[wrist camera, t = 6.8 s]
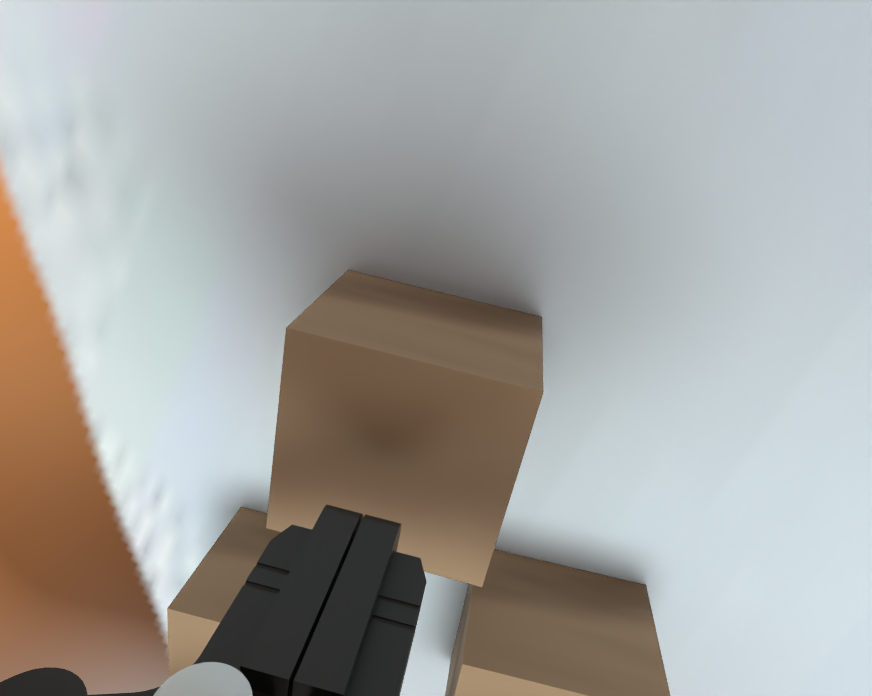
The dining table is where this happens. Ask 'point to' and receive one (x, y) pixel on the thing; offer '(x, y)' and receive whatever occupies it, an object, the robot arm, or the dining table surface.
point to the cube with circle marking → (215, 587)
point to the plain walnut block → (407, 416)
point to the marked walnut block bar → (555, 634)
